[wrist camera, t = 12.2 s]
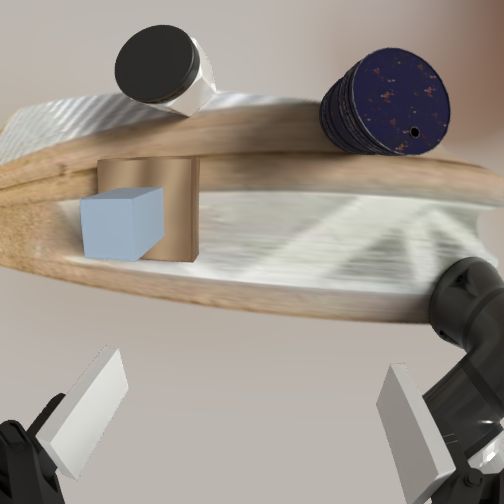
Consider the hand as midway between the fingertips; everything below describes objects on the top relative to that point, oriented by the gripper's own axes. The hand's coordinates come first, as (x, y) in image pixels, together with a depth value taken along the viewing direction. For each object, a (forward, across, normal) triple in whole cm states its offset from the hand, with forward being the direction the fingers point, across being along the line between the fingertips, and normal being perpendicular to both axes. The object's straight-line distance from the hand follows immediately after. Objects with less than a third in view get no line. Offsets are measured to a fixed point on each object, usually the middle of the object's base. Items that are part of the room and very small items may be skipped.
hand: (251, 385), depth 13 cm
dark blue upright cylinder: (+28, -11, -16) cm, 34 cm away
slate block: (+23, +15, -4) cm, 28 cm away
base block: (+27, +15, -4) cm, 31 cm away
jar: (+27, +11, -20) cm, 35 cm away
